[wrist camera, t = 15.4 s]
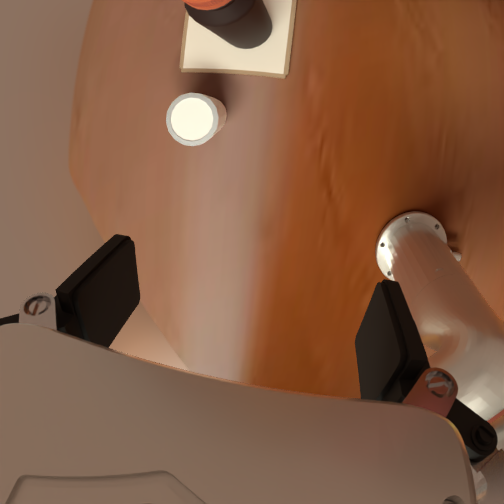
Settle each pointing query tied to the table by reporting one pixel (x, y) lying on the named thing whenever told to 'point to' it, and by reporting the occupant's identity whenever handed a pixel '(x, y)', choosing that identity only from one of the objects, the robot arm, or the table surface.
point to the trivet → (236, 59)
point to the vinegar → (233, 20)
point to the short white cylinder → (195, 118)
